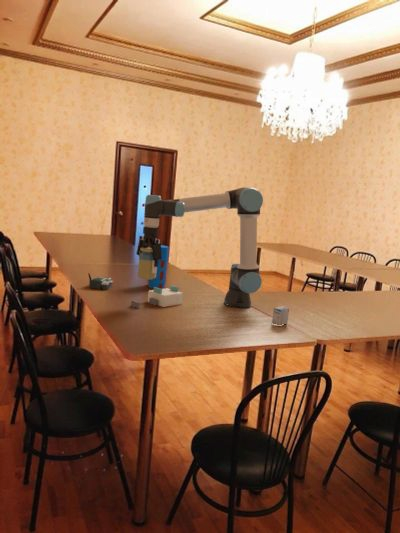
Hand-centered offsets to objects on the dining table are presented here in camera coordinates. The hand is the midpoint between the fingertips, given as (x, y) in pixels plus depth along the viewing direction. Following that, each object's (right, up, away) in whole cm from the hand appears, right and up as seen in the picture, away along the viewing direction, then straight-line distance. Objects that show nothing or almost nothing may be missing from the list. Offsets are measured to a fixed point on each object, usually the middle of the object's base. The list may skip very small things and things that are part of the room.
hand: (147, 271), depth 230 cm
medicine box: (+65, -26, -6) cm, 70 cm away
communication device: (-31, -9, +39) cm, 51 cm away
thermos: (0, -10, +52) cm, 53 cm away
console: (+3, -17, +8) cm, 19 cm away
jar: (0, -4, 0) cm, 4 cm away
